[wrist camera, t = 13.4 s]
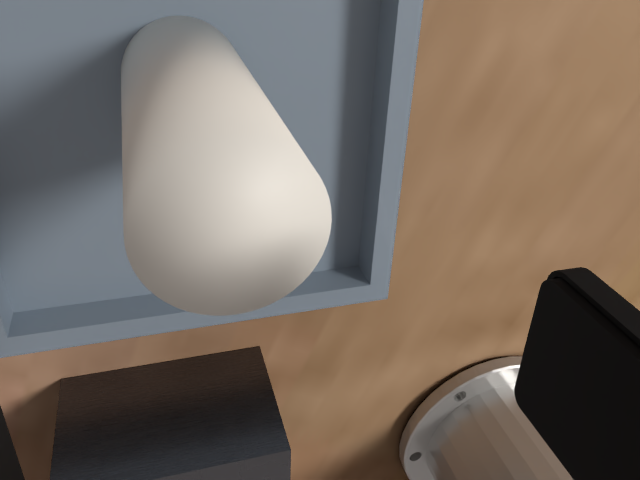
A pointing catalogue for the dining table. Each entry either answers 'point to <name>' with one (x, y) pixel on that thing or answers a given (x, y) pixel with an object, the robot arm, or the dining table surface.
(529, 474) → the robot arm
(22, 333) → the tray
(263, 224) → the dowel pin
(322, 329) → the dining table surface
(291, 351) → the dining table surface
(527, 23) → the dining table surface
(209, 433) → the socket block
